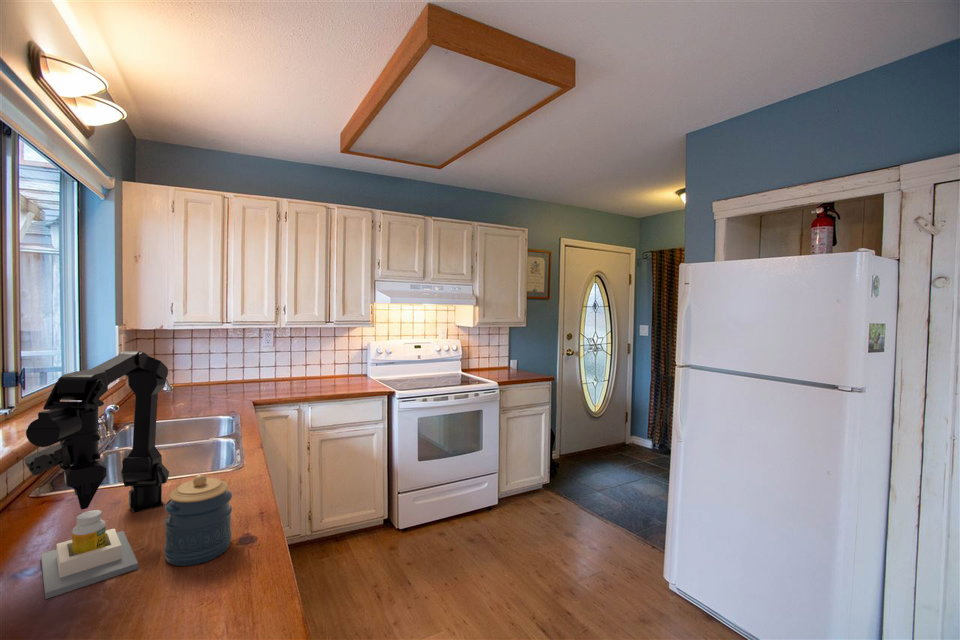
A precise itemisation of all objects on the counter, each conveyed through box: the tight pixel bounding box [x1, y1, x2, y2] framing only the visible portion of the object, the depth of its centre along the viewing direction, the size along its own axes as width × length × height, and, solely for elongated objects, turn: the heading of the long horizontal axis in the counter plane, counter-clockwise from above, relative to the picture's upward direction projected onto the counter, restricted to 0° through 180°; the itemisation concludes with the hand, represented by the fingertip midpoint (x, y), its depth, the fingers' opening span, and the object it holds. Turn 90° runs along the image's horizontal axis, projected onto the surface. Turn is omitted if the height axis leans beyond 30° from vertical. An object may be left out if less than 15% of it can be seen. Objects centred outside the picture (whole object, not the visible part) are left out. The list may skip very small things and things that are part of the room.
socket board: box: [40, 528, 139, 600], centre depth 94 cm, size 14×18×4 cm
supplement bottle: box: [71, 509, 107, 556], centre depth 94 cm, size 5×5×10 cm
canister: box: [163, 474, 233, 567], centre depth 100 cm, size 13×13×18 cm
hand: (81, 501), depth 96 cm, fingers open, 9 cm apart
